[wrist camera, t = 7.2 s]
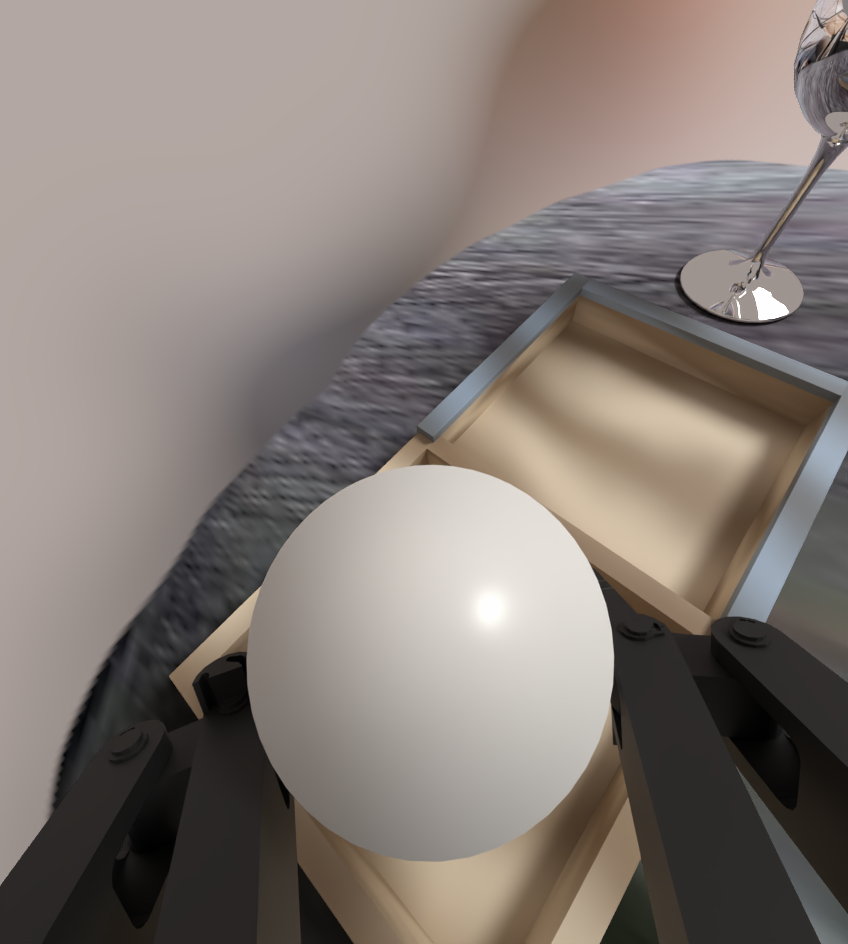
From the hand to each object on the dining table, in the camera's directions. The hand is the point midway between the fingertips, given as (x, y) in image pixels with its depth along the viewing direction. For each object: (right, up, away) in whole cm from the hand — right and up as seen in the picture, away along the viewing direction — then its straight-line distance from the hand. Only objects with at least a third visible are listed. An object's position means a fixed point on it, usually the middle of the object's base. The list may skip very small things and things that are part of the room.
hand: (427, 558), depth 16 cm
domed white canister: (+1, -5, +2) cm, 5 cm away
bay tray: (+6, 0, +4) cm, 7 cm away
